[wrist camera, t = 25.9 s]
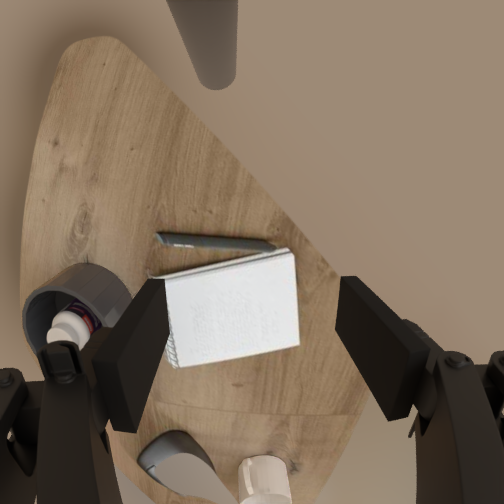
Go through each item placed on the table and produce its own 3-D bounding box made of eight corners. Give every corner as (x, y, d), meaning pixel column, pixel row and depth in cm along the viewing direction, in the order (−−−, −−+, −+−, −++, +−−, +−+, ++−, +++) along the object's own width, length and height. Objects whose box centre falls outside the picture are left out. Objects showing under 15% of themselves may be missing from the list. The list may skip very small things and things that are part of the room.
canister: (47, 262, 38) (12, 283, 30) (129, 262, 39) (104, 287, 30) (64, 344, 42) (38, 376, 33) (141, 351, 42) (124, 388, 34)
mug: (289, 474, 51) (296, 509, 42) (245, 482, 52) (247, 518, 43) (276, 440, 48) (282, 481, 39) (226, 450, 48) (226, 490, 39)
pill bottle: (115, 310, 40) (87, 346, 30) (96, 333, 41) (68, 371, 31) (85, 283, 39) (51, 313, 29) (68, 308, 40) (35, 340, 30)
